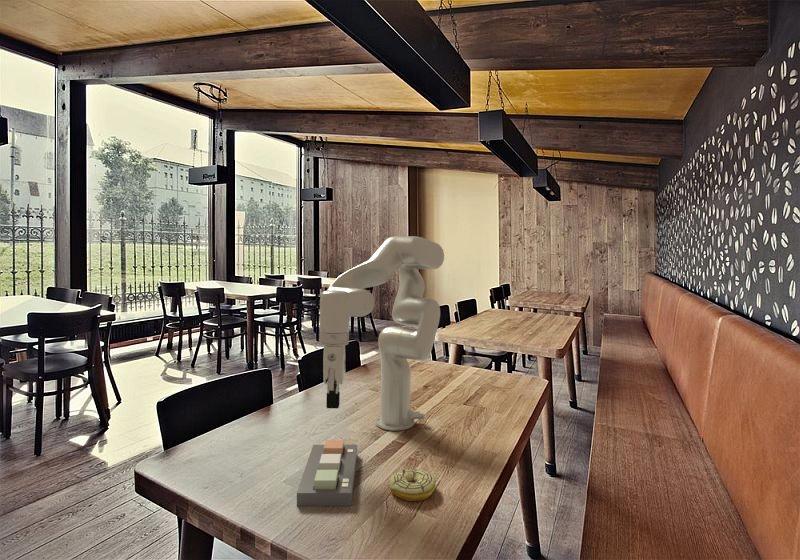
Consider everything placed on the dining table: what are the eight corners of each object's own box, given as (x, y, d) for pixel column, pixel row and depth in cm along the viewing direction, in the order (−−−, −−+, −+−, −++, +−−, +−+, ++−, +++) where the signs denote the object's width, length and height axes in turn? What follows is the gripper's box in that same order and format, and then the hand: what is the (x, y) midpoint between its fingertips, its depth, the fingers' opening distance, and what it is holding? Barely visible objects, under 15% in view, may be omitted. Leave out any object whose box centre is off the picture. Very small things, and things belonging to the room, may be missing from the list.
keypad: (357, 455, 124) (357, 443, 124) (351, 505, 100) (351, 491, 100) (313, 455, 123) (313, 443, 123) (296, 506, 100) (296, 492, 99)
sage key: (337, 481, 106) (337, 469, 106) (335, 493, 101) (335, 480, 101) (317, 482, 106) (317, 469, 106) (314, 493, 101) (314, 480, 101)
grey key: (340, 465, 114) (341, 453, 114) (339, 475, 109) (339, 463, 109) (321, 465, 114) (321, 453, 114) (319, 475, 109) (319, 463, 109)
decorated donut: (398, 476, 113) (398, 462, 113) (439, 484, 110) (440, 469, 110) (383, 498, 103) (383, 482, 103) (428, 508, 100) (429, 491, 100)
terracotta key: (343, 450, 122) (343, 440, 122) (342, 459, 117) (342, 448, 117) (325, 450, 122) (325, 440, 122) (323, 459, 117) (323, 448, 117)
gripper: (346, 344, 110) (344, 418, 111) (350, 333, 125) (349, 398, 126) (315, 343, 109) (314, 417, 111) (323, 332, 124) (322, 397, 125)
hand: (332, 407), depth 118 cm, fingers closed
